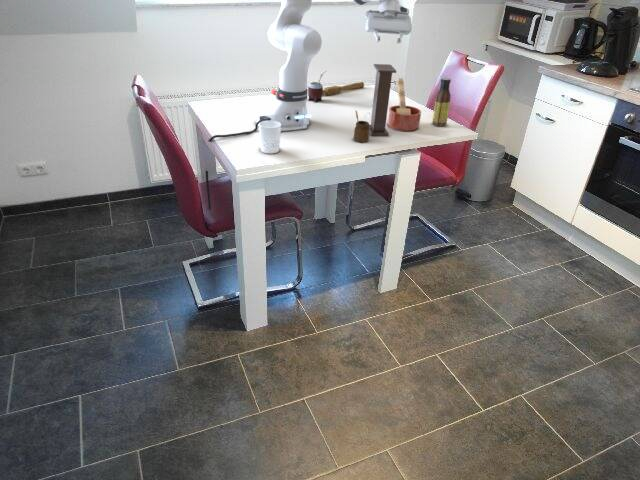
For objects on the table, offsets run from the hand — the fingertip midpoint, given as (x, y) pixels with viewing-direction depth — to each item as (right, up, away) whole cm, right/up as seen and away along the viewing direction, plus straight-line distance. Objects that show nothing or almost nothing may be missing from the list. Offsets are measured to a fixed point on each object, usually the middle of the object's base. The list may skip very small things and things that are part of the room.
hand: (388, 42), depth 213 cm
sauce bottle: (+22, -36, +1) cm, 43 cm away
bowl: (+6, -38, -3) cm, 38 cm away
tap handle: (-19, -11, +37) cm, 43 cm away
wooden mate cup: (-14, -47, -20) cm, 53 cm away
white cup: (-49, -54, -33) cm, 80 cm away
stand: (-6, -42, -11) cm, 44 cm away
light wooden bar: (+5, -27, -2) cm, 28 cm away
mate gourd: (-32, -20, +22) cm, 43 cm away
